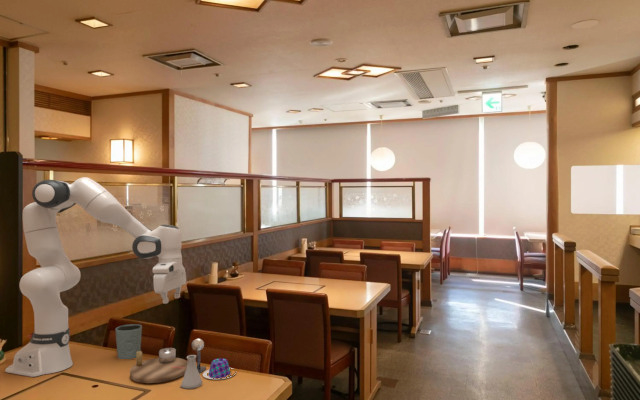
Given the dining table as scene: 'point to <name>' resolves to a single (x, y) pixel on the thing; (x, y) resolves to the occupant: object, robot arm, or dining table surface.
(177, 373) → the turntable
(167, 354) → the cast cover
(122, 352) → the grey green cup
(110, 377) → the dining table surface
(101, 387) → the dining table surface
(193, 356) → the flask
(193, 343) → the grey knobbed rod
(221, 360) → the pudding
